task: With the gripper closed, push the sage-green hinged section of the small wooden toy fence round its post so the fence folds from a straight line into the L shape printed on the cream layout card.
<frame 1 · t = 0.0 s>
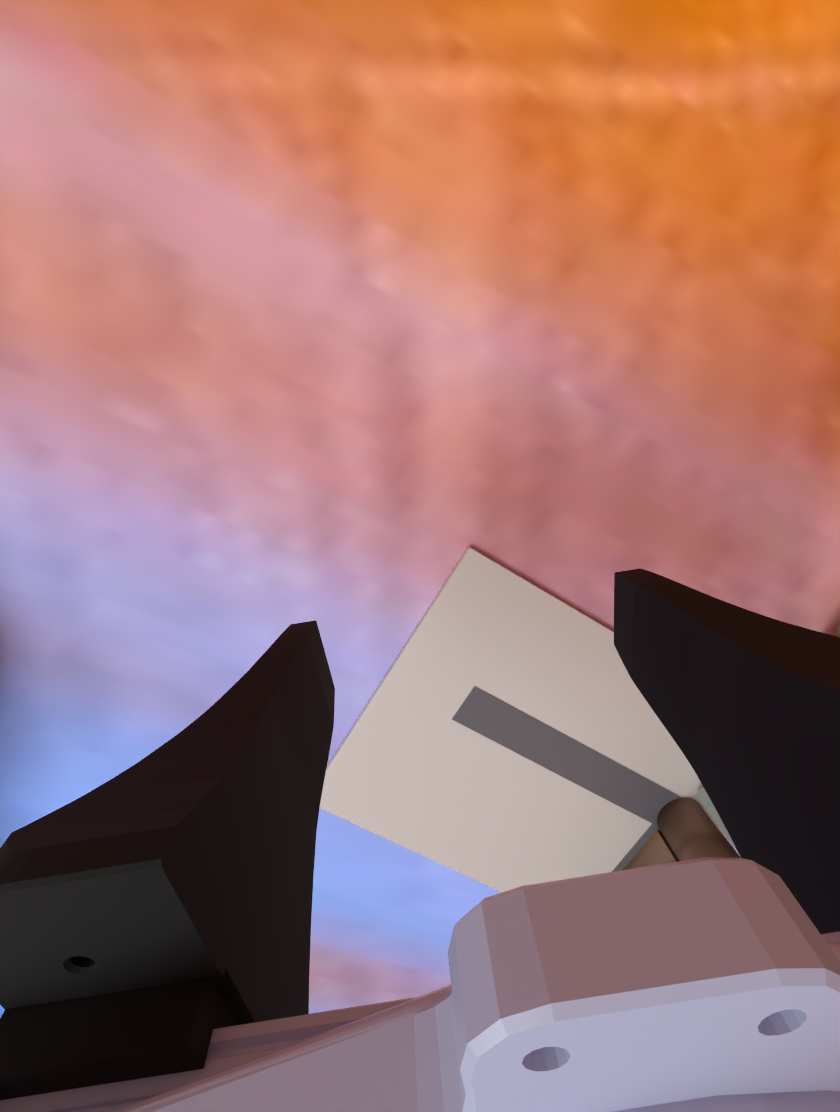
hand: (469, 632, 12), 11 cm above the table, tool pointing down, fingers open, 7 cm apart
fence panel: (815, 737, 23), point 3 cm above the table, hinge at 0.0°
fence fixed: (676, 812, 27), resting on layout card
layout card: (555, 769, 26), on the table
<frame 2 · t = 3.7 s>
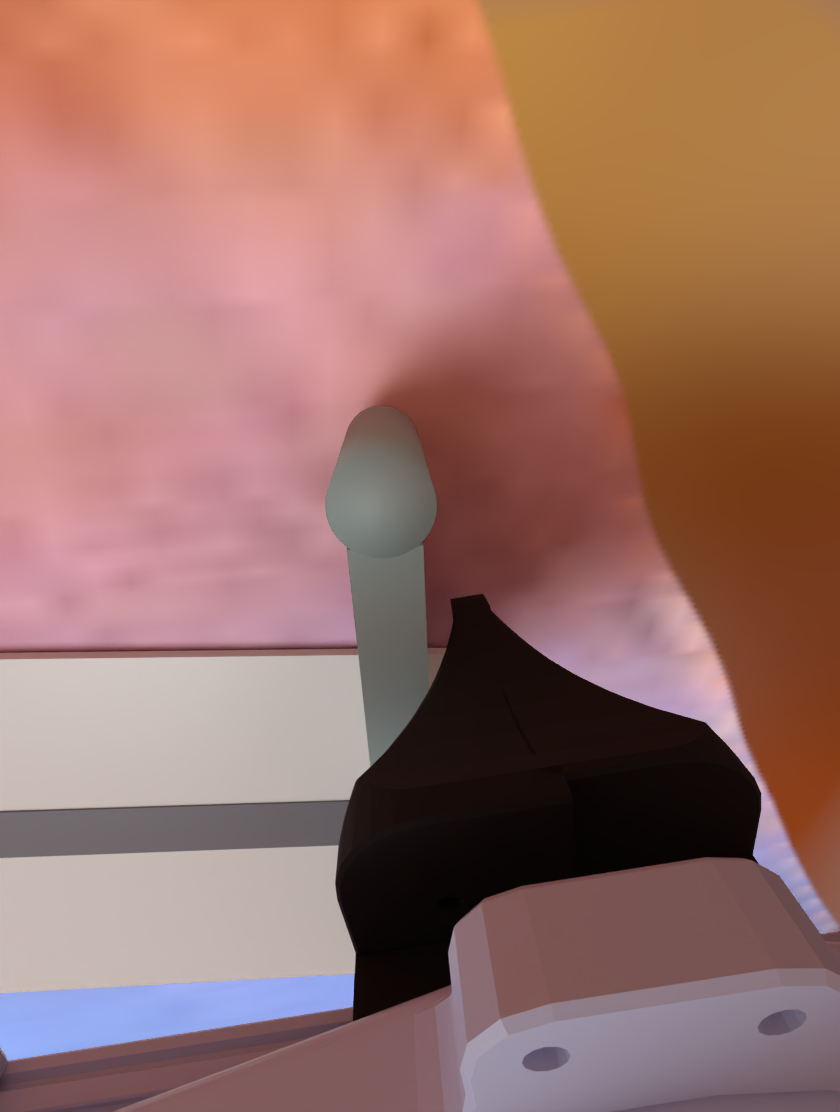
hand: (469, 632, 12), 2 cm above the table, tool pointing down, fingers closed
fence panel: (397, 690, 11), point 3 cm above the table, hinge at 4.0°, touching gripper
layout card: (195, 840, 17), on the table
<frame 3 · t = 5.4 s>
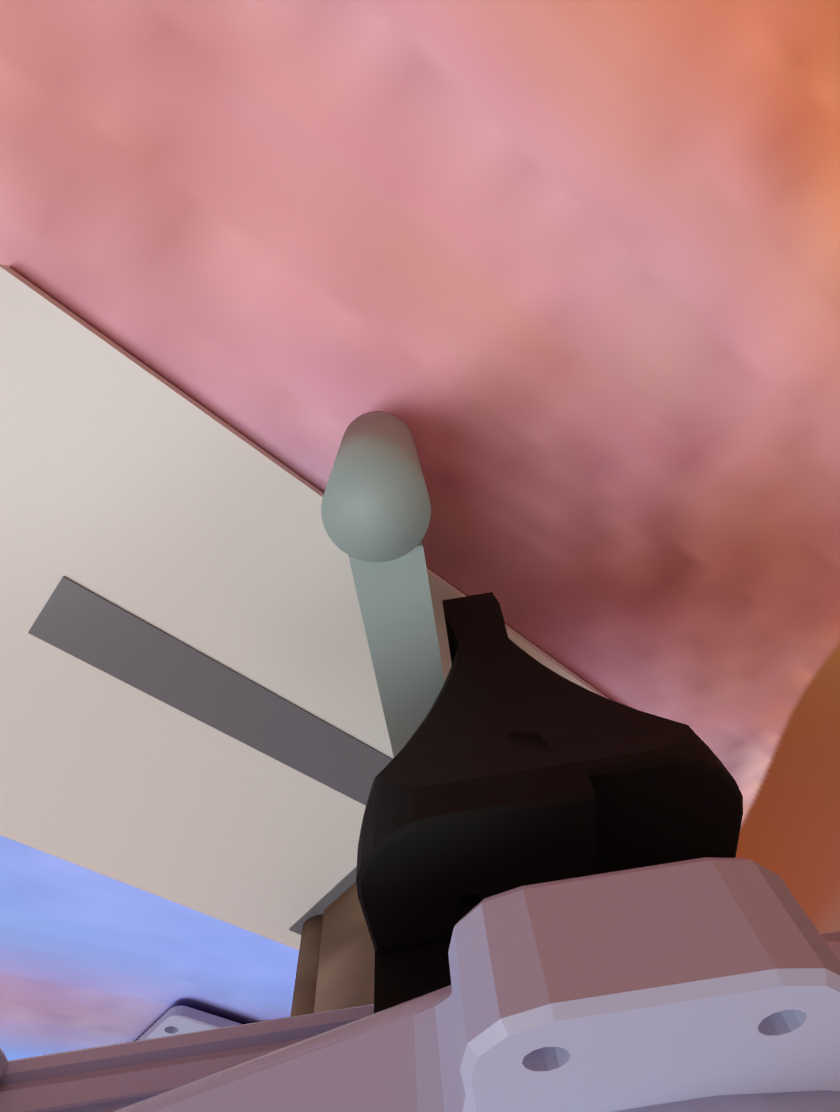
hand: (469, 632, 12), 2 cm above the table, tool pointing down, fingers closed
fence panel: (417, 690, 12), point 3 cm above the table, hinge at 47.9°, touching gripper
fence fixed: (444, 809, 17), resting on layout card
layout card: (244, 733, 15), on the table
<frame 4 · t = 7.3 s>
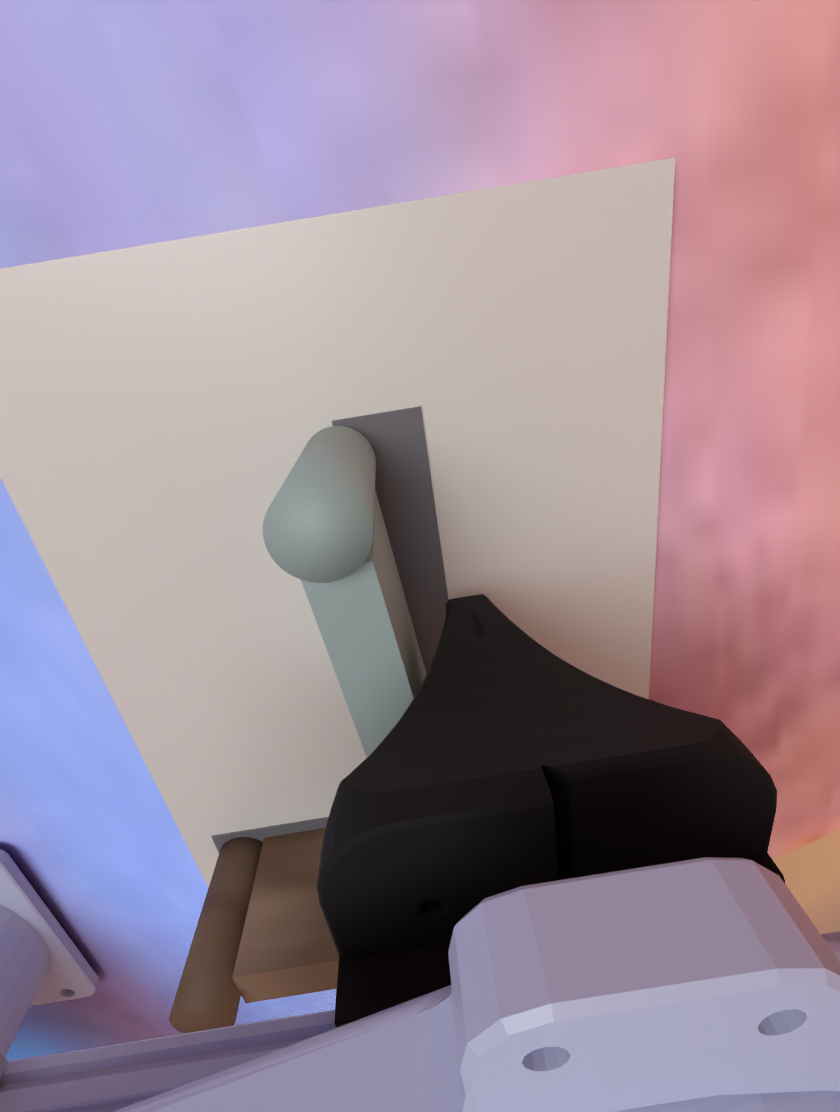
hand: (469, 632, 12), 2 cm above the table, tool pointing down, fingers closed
fence panel: (396, 699, 12), point 3 cm above the table, hinge at 94.5°, touching gripper
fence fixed: (448, 811, 17), resting on layout card
layout card: (381, 643, 14), on the table
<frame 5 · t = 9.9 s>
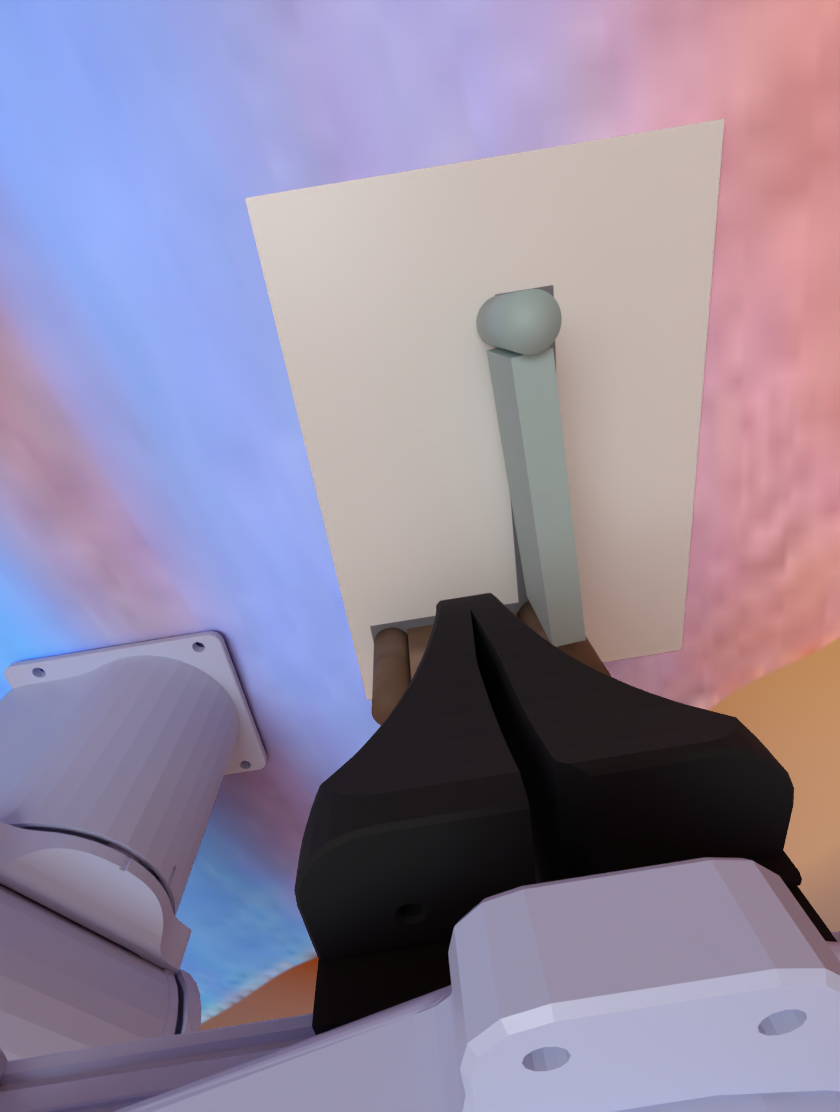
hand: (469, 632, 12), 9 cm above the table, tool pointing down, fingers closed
fence panel: (535, 478, 18), point 3 cm above the table, hinge at 94.6°
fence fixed: (540, 614, 24), resting on layout card
layout card: (506, 468, 21), on the table
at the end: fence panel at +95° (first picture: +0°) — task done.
